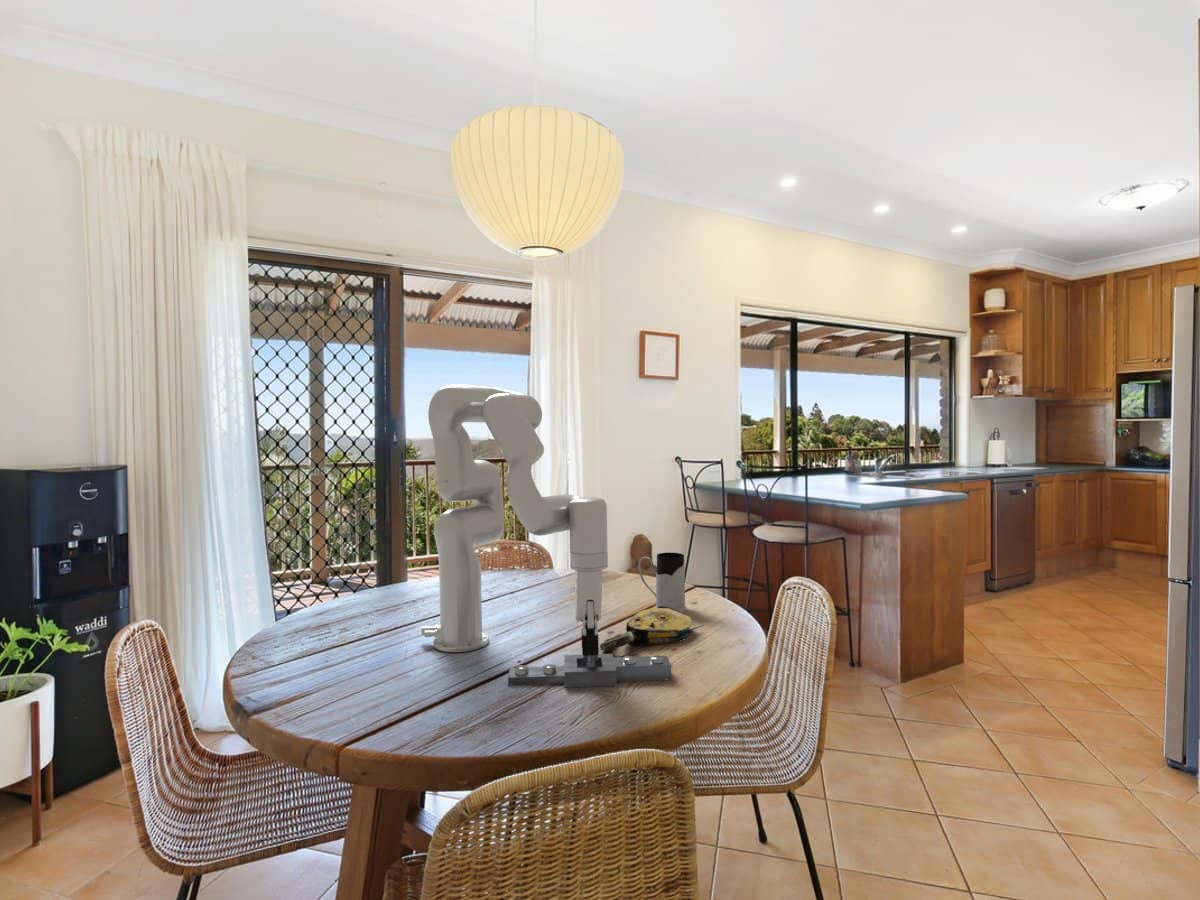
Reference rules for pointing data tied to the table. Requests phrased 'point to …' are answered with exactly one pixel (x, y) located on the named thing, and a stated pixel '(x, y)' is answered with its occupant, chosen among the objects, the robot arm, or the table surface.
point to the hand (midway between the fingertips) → (590, 650)
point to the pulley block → (652, 629)
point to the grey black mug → (669, 580)
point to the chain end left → (552, 677)
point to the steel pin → (590, 660)
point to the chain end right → (619, 668)
